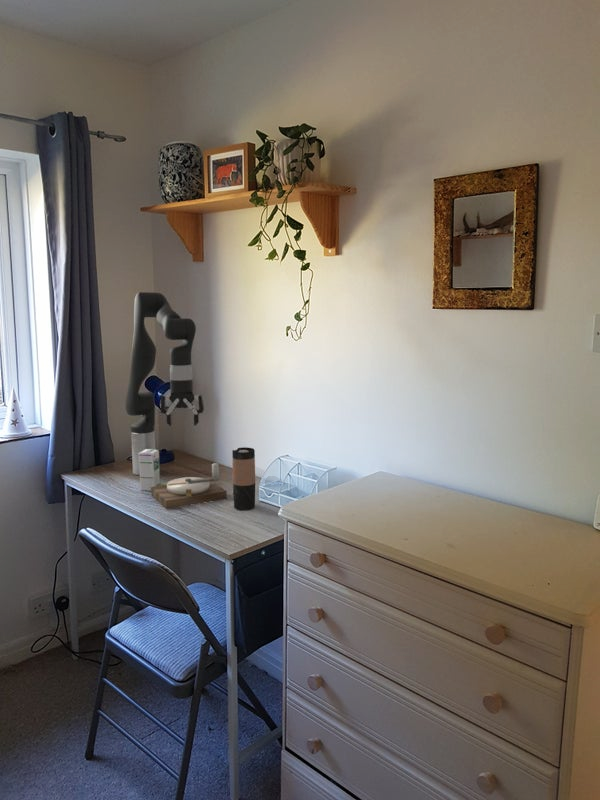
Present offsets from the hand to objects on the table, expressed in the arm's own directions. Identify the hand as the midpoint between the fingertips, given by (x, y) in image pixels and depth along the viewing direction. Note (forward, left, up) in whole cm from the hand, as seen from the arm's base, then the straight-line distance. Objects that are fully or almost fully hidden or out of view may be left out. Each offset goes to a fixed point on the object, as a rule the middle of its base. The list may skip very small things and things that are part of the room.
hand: (182, 425), depth 218 cm
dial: (-6, +5, -24) cm, 25 cm away
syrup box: (-23, -6, -28) cm, 36 cm away
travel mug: (+14, +16, -28) cm, 35 cm away
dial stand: (-6, +3, -28) cm, 28 cm away
